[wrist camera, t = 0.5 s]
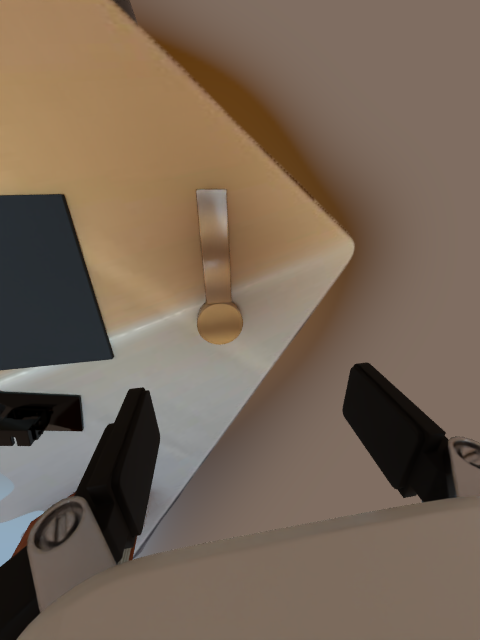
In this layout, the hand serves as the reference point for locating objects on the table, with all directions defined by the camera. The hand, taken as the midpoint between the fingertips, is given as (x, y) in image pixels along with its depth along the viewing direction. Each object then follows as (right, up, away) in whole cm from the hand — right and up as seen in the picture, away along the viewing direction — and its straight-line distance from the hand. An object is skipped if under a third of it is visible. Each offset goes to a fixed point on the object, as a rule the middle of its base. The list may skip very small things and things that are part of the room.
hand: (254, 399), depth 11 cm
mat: (-29, +7, +16) cm, 34 cm away
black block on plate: (-31, -10, +24) cm, 40 cm away
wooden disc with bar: (-4, +10, +19) cm, 22 cm away
